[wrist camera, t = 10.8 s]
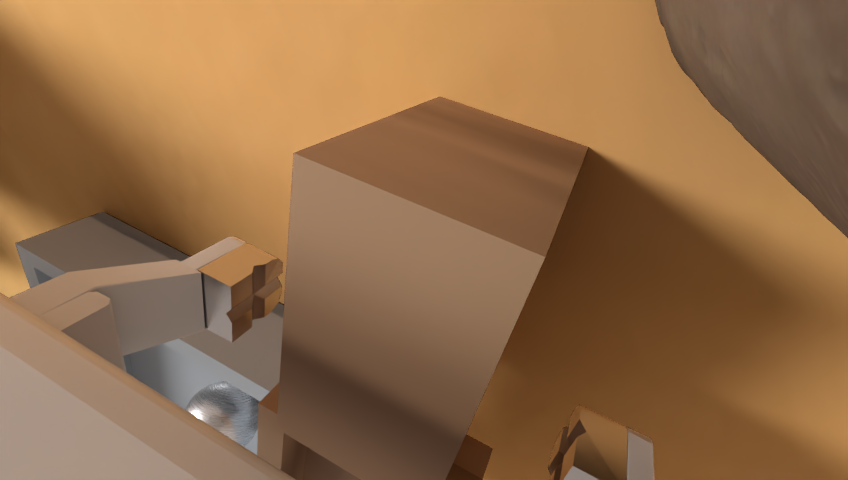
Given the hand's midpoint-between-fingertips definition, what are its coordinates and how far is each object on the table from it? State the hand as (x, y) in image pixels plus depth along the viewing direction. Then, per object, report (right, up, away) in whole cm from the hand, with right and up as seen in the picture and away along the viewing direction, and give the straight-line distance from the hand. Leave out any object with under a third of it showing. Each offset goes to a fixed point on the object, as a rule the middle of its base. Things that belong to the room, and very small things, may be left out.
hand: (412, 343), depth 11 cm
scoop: (+1, 0, +4) cm, 4 cm away
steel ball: (-9, -7, +9) cm, 14 cm away
